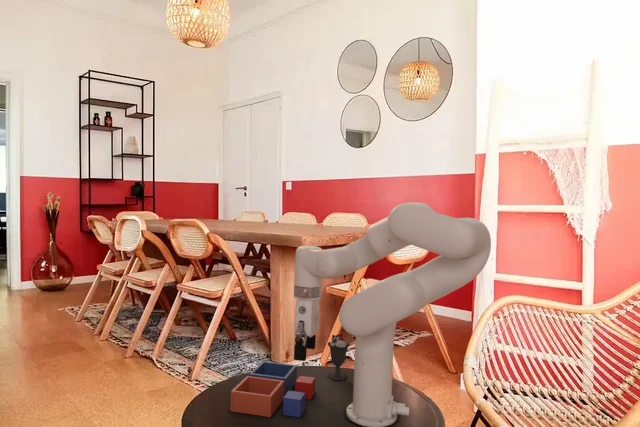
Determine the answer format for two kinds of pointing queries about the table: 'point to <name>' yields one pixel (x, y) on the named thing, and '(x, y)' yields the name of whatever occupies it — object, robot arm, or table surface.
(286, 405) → the blue block
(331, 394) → the table surface
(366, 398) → the robot arm
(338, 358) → the sundae
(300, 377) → the red block
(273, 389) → the terracotta bin
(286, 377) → the blue bin
